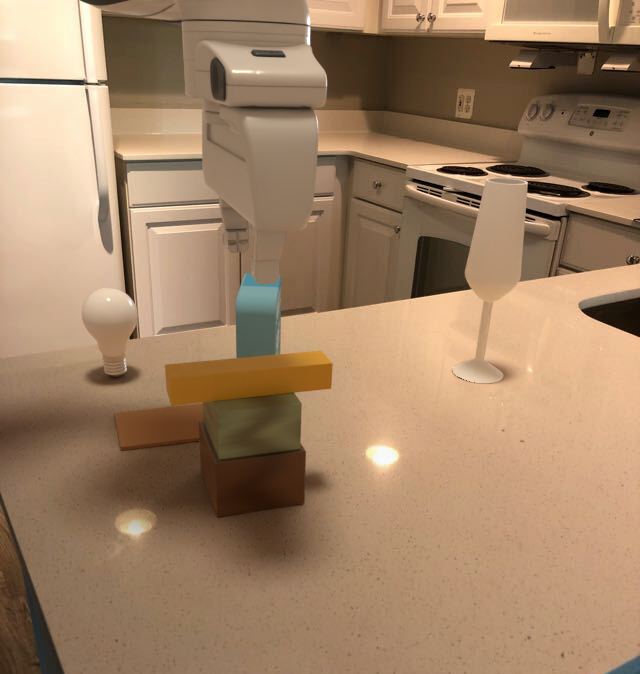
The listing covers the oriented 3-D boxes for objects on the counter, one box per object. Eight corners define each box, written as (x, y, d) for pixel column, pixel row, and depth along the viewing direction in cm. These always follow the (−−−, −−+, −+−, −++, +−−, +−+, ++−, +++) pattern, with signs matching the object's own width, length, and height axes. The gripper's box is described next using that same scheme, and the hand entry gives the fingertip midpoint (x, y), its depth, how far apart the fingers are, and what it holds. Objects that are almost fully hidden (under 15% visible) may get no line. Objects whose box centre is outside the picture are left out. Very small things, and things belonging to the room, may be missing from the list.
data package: (275, 399, 83) (276, 301, 78) (236, 398, 83) (235, 299, 77) (280, 360, 94) (281, 271, 88) (246, 359, 94) (245, 269, 88)
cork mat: (120, 450, 71) (120, 447, 71) (114, 415, 78) (114, 412, 78) (256, 433, 76) (256, 430, 75) (239, 402, 82) (239, 399, 82)
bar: (171, 406, 58) (169, 378, 57) (166, 391, 61) (164, 364, 60) (331, 389, 63) (332, 362, 61) (320, 375, 65) (321, 350, 64)
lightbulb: (102, 390, 84) (92, 300, 78) (80, 372, 88) (69, 286, 83) (151, 378, 87) (144, 291, 82) (128, 361, 91) (120, 278, 86)
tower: (217, 517, 62) (213, 415, 57) (200, 471, 68) (196, 376, 64) (304, 503, 64) (307, 404, 60) (280, 460, 71) (281, 368, 66)
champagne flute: (441, 371, 93) (465, 179, 81) (471, 359, 97) (498, 174, 86) (484, 388, 88) (515, 187, 77) (513, 374, 93) (548, 182, 81)
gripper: (179, 66, 58) (188, 237, 64) (234, 75, 41) (239, 306, 47) (255, 68, 60) (256, 234, 66) (337, 77, 43) (328, 300, 49)
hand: (250, 265), depth 57 cm, fingers open, 8 cm apart
